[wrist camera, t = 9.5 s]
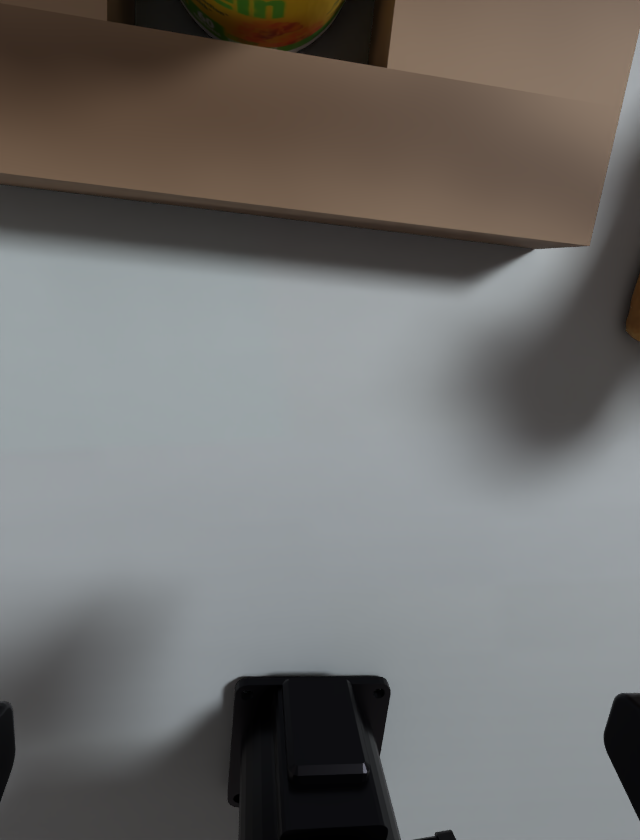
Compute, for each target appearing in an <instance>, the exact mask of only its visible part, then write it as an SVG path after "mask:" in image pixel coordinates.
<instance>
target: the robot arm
mask: <svg viewBox="0 0 640 840" xmlns="http://www.w3.org/2000/svg"><path fill="white" fill-rule="evenodd" d="M379 688H380V690H379V691H375V690H376V689H379ZM246 690H250V691H251V692H248V693H246V692H243V691H246ZM389 699H390V687H389V684H388V682H387V680H386V679H385V678H383V677H266V678H243V679H242V680H240V681H239V682H238V683H237V684H236V687H235V698H234V712H233V726H232V740H231V754H230V768H229V782H228V803H229V804H230V805H232V806H234V807H239V839H238V840H401V838H400V834H399V830H398V826H397V822H396V818H395V815H394V811H393V807H392V803H391V799H390V795H389V791H388V788H387V784H386V780H385V776H384V772H383V768H382V764H381V760H380V752H381V746H382V740H383V734H384V729H385V723H386V717H387V711H388V705H389ZM604 745H605V748H606V751H607V754H608V756H609V758H610V760H611V762H612V764H613V766H614V768H615V770H616V772H617V774H618V777H619V779H620V781H621V783H622V785H623V787H624V789H625V791H626V793H627V795H628V797H629V800H630V802H631V804H632V806H633V808H634V810H635V812H636V814H637V816H638V818H639V820H640V693H621V694H618V695H617V696H616V697H615V699H614V701H613V704H612V707H611V711H610V714H609V717H608V721H607V724H606V727H605V731H604ZM14 758H15V734H14V719H13V708H12V706H11V704H10V703H9V702H6V701H0V801H1V799H2V796H3V793H4V790H5V787H6V784H7V782H8V779H9V776H10V773H11V770H12V767H13V763H14ZM414 840H456V838H455V836H454V834H453V832H452V831H451V830H447V831H441V832H435V836H432V837H426V838H420V839H414Z"/></svg>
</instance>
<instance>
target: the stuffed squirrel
mask: <svg viewBox="0 0 640 840" xmlns="http://www.w3.org/2000/svg"><path fill="white" fill-rule="evenodd" d="M626 331H627V333H628V334H629V335H630V336H631V337H632V338H634V339H635V340H637V341H639V342H640V273H639V277H638V280H637V283H636V285H635V289H634V292H633V295H632V299H631V304H630V310H629V314H628V317H627V319H626Z"/></svg>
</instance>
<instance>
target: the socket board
mask: <svg viewBox="0 0 640 840" xmlns="http://www.w3.org/2000/svg"><path fill="white" fill-rule="evenodd" d="M639 29H640V0H375V2H374V11H373V20H372V29H371V38H370V47H369V56H368V65H365V64H360V63H354V62H348V61H342V60H336V59H330V58H324V57H318V56H312V55H306V54H300V53H294V52H288V51H282V50H276V49H270V48H265V47H259V46H253V45H247V44H241V43H235V42H229V41H223V40H217V39H211V38H205V37H199V36H193V35H187V34H181V33H175V32H169V31H164V30H158V29H152V28H146V27H140V26H135V0H0V184H3V185H12V186H20V187H28V188H36V189H45V190H53V191H61V192H69V193H78V194H86V195H94V196H102V197H111V198H119V199H127V200H136V201H144V202H152V203H160V204H169V205H177V206H185V207H193V208H202V209H210V210H218V211H226V212H235V213H243V214H251V215H259V216H268V217H276V218H284V219H292V220H301V221H309V222H317V223H326V224H334V225H342V226H350V227H359V228H367V229H375V230H383V231H392V232H400V233H408V234H416V235H425V236H433V237H441V238H449V239H458V240H466V241H474V242H482V243H491V244H499V245H507V246H516V247H524V248H532V249H545V248H562V247H579V246H590V241H591V237H592V233H593V228H594V224H595V220H596V215H597V211H598V207H599V203H600V198H601V194H602V190H603V185H604V181H605V177H606V172H607V168H608V164H609V159H610V155H611V151H612V146H613V142H614V138H615V133H616V129H617V125H618V120H619V116H620V112H621V107H622V103H623V99H624V94H625V90H626V86H627V81H628V77H629V73H630V68H631V64H632V60H633V55H634V51H635V47H636V42H637V38H638V34H639Z"/></svg>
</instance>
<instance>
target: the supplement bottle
mask: <svg viewBox="0 0 640 840" xmlns="http://www.w3.org/2000/svg"><path fill="white" fill-rule="evenodd" d="M345 1H346V0H181V2H182V4H183V5H184V7H185V8H186V10H187V11H188V13H189V14H190V15H191V17H192V18H193V19H194V20H195V21H196V23H197V24H198V25H199V26H200V27H201V28H202V29H203V30H204V31H205V32H206V33H207V34H209V35H210V36H211V37H212V38H214V39H217V40H223V41H229V42H235V43H241V44H247V45H253V46H259V47H265V48H270V49H276V50H282V51H288V52H297V51H299V50H301V49H303V48H305V47H307V46H308V45H310V44H311V43H313V42H314V41H315V40H316V39H318V38H319V37H320V36H321V35H322V34H323V33H324V32H325V31H326V30H327V29H328V28H329V26H330V25H331V24H332V23H333V21H334V20H335V18H336V17H337V15H338V14H339V12H340V10H341V8H342V7H343V5H344V3H345Z"/></svg>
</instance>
